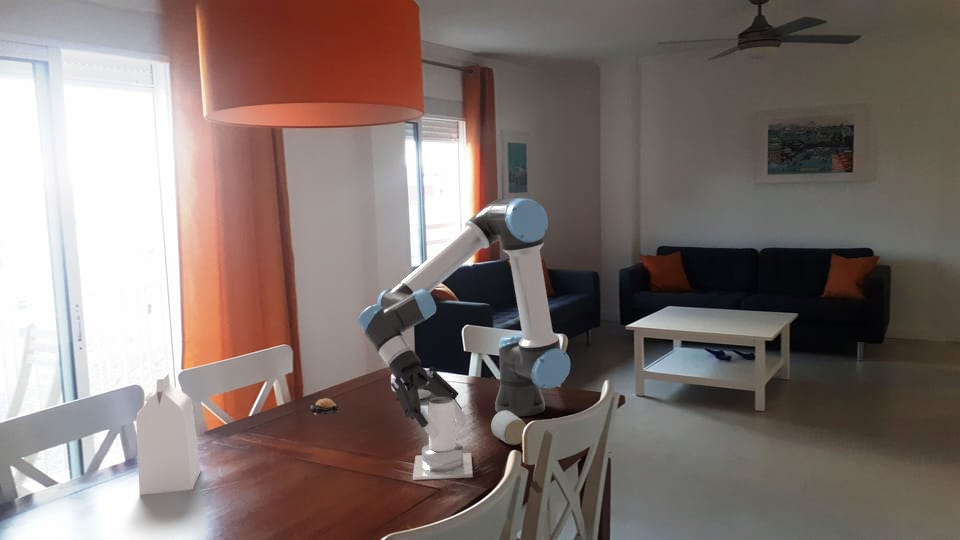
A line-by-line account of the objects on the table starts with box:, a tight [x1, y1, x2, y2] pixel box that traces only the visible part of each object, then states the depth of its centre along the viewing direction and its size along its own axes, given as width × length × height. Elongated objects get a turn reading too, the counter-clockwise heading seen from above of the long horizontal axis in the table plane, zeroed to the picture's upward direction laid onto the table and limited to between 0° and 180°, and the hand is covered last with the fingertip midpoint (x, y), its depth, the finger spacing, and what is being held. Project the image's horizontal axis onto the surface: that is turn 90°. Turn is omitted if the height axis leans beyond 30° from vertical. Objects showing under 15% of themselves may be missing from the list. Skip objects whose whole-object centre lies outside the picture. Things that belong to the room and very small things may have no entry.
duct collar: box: [412, 442, 473, 481], centre depth 181 cm, size 14×14×5 cm
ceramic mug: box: [490, 410, 527, 446], centre depth 198 cm, size 11×8×8 cm
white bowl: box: [390, 367, 432, 400], centre depth 245 cm, size 15×15×8 cm
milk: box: [135, 372, 202, 496], centre depth 176 cm, size 12×12×26 cm
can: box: [427, 396, 457, 452], centre depth 180 cm, size 6×6×12 cm
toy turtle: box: [310, 397, 339, 416], centre depth 234 cm, size 11×8×4 cm
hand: (450, 429), depth 178 cm, fingers open, 10 cm apart
